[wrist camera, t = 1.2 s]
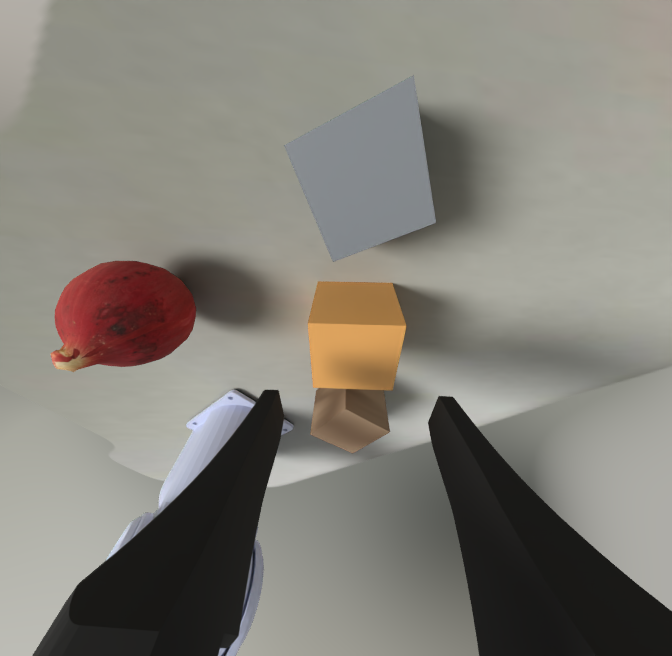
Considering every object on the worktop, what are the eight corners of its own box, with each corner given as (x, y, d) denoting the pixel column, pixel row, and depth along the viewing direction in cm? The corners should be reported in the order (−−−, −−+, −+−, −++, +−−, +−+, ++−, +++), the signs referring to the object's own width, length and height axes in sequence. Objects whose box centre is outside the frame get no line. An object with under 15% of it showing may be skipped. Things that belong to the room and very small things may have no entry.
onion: (176, 228, 15) (38, 289, 8) (232, 305, 18) (165, 394, 11) (109, 261, 16) (-53, 334, 10) (172, 326, 19) (82, 415, 13)
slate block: (336, 234, 14) (333, 261, 11) (303, 147, 12) (284, 145, 8) (412, 203, 13) (435, 222, 10) (391, 101, 11) (413, 74, 7)
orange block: (320, 338, 19) (313, 387, 15) (318, 280, 16) (307, 323, 12) (383, 340, 19) (392, 390, 15) (392, 282, 16) (406, 325, 12)
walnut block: (352, 409, 24) (352, 453, 21) (316, 390, 23) (310, 434, 19) (383, 386, 22) (389, 432, 19) (345, 364, 21) (345, 409, 17)
